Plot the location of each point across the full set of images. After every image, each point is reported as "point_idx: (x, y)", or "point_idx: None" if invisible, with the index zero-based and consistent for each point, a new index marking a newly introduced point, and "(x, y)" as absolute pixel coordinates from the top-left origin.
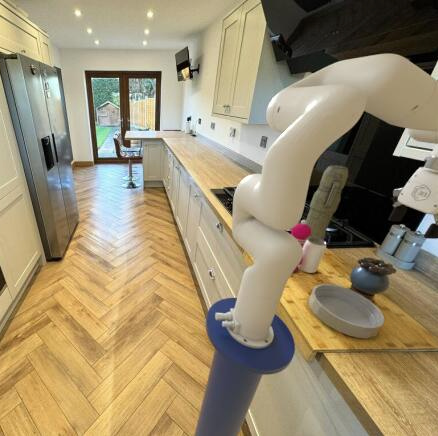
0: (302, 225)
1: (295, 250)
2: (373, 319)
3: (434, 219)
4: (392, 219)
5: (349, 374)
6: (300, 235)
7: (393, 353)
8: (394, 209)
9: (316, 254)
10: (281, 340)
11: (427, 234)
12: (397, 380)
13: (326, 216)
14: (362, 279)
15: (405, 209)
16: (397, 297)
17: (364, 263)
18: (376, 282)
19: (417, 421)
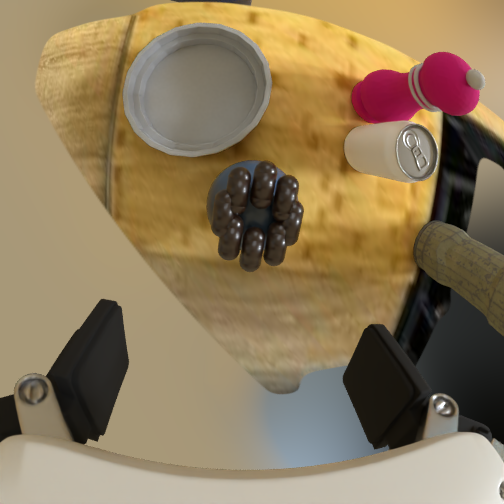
0: (463, 69)
1: None
2: (159, 134)
3: (64, 417)
4: (368, 339)
5: (96, 30)
6: (427, 57)
7: (106, 126)
8: (419, 381)
9: (376, 133)
10: None
11: (94, 313)
12: (74, 92)
13: (485, 283)
14: (241, 164)
15: (376, 438)
16: (234, 286)
17: (266, 168)
18: (216, 185)
19: (41, 78)
